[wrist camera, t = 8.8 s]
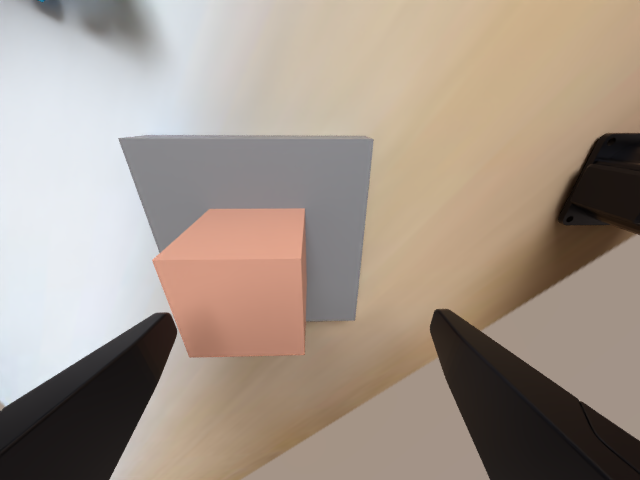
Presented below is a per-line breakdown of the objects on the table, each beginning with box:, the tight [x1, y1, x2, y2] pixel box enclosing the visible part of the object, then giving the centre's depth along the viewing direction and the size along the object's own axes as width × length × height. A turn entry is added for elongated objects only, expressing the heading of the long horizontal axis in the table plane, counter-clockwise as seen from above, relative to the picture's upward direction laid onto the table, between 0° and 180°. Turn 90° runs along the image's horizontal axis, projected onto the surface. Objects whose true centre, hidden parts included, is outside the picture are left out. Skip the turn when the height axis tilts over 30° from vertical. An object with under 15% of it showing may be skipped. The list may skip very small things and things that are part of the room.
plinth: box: [118, 135, 374, 321], centre depth 17 cm, size 14×14×2 cm
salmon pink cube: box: [152, 208, 307, 357], centre depth 14 cm, size 6×6×6 cm
